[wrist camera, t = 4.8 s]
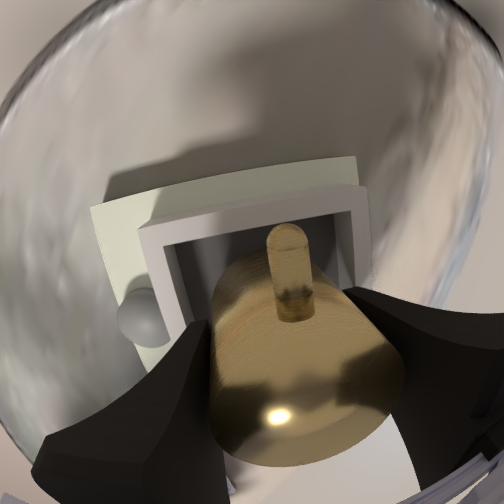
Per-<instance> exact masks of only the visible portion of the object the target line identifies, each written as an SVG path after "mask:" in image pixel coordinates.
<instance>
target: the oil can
mask: <svg viewBox="0 0 504 504" xmlns="http://www.w3.org/2000/svg"><path fill="white" fill-rule="evenodd" d="M266 247H267V248H266V249H261V250H257V251H253V252H251V253H248V254H246V255H244V256H243V257H241V258H239V259H238V260H236V261H235V262H234V263H232V264H231V265H230V266H229V267H228V268H227V269H226V270H225V271H224V273H223V274H222V275H221V277H220V279H219V280H218V282H217V284H216V287H215V289H214V293H213V297H212V311H211V340H210V388H209V422H210V430H211V432H212V435H213V437H214V439H215V440H216V442H217V444H218V445H219V446H220V447H221V448H222V449H223V450H225V451H226V452H227V453H228V454H230V455H232V456H233V457H235V458H237V459H240V460H242V461H245V462H248V463H251V464H255V465H261V466H268V467H290V466H299V465H305V464H309V463H314V462H317V461H320V460H324V459H327V458H329V457H332V456H334V455H337V454H339V453H341V452H343V451H345V450H347V449H349V448H351V447H352V446H354V445H356V444H357V443H359V442H360V441H362V440H363V439H365V438H366V437H367V436H368V435H370V434H371V433H372V432H373V431H374V430H376V429H377V428H378V427H379V426H380V425H381V424H382V423H383V421H384V420H385V419H386V418H387V417H388V416H389V414H390V413H391V412H392V410H393V409H394V407H395V405H396V404H397V402H398V400H399V398H400V395H401V393H402V390H403V386H404V381H405V367H404V363H403V360H402V358H401V355H400V354H399V352H398V351H397V350H396V349H395V347H394V346H393V345H392V344H391V343H390V342H389V341H388V340H387V339H386V337H385V336H384V335H383V334H382V333H381V332H380V331H379V330H378V329H377V328H376V327H375V326H374V325H373V323H372V322H371V321H370V320H369V319H368V318H367V317H366V316H365V315H364V314H363V313H362V312H361V311H360V310H359V309H358V308H357V307H356V305H355V304H354V303H353V302H352V301H351V300H350V299H349V298H348V297H347V296H346V295H345V294H344V293H343V292H342V291H341V290H340V289H339V288H338V287H337V286H336V285H335V284H334V283H333V282H332V281H331V280H330V279H329V278H328V277H327V275H326V274H325V273H324V272H323V271H322V270H321V269H320V268H319V267H318V266H317V265H316V264H315V263H314V262H313V261H311V260H310V256H309V247H308V240H307V237H306V234H305V233H304V231H303V230H302V229H301V228H300V227H298V226H296V225H294V224H290V223H284V224H280V225H278V226H276V227H275V228H273V229H272V230H271V232H270V233H269V235H268V237H267V242H266Z"/></svg>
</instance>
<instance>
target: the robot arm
mask: <svg viewBox="0 0 504 504" xmlns="http://www.w3.org/2000/svg"><path fill="white" fill-rule="evenodd" d="M342 292H343V293H344V294H345V295H346V296H347V297H348V298H349V299H350V300H351V301H352V302H353V303H354V304H355V305H356V307H357V308H358V309H359V310H360V311H361V312H362V313H363V314H364V315H365V316H366V317H367V318H368V319H369V320H370V321H371V322H372V323H373V325H374V326H375V327H376V328H377V329H378V330H379V331H380V332H381V333H382V334H383V335H384V336H385V337H386V339H387V340H388V341H389V342H390V343H391V344H392V345H393V346H394V347H395V349H396V350H397V351H398V352H399V354H400V355H401V358H402V360H403V363H404V367H405V381H404V386H403V390H402V393H401V395H400V398H399V400H398V402H397V404H396V405H395V407H394V409H393V410H392V412H391V415H392V417H393V419H394V421H395V423H396V425H397V427H398V429H399V432H400V434H401V436H402V438H403V441H404V443H405V445H406V448H407V450H408V453H409V455H410V458H411V461H412V464H413V467H414V470H415V473H416V476H417V479H418V482H419V486H420V490H421V492H419V493H417V494H415V495H413V496H411V497H410V498H407V499H406V500H403V501H401V502H400V503H397V504H445V503H446V502H448V501H450V500H451V499H453V498H454V497H456V496H457V495H459V494H460V493H461V492H463V491H464V490H466V489H467V488H468V487H470V486H471V485H473V484H474V483H475V482H477V481H478V480H479V479H480V478H482V477H483V476H484V475H486V474H487V473H488V472H489V474H488V476H487V477H486V478H484V479H483V480H482V481H481V482H480V483H478V484H477V485H476V486H475V487H474V488H473V489H472V490H471V491H470V492H469V493H468V494H467V495H466V496H465V497H464V498H463V499H462V500H461V501H460V502H459V503H457V504H504V313H493V314H478V313H463V312H454V311H447V310H441V309H435V308H431V307H426V306H422V305H419V304H415V303H411V302H408V301H404V300H401V299H398V298H395V297H392V296H388V295H385V294H382V293H379V292H376V291H373V290H370V289H367V288H363V287H358V286H355V287H352V288H348V289H344V290H342ZM210 340H211V329H210V325H209V322H208V319H205V320H199V321H193V322H190V324H189V325H188V326H187V327H186V329H185V330H184V331H183V333H182V334H181V335H180V337H179V338H178V339H177V341H176V342H175V343H174V344H173V346H172V347H171V348H170V349H169V351H168V352H167V353H166V354H165V355H164V357H163V358H162V359H161V360H160V361H159V362H158V363H157V364H156V365H155V367H154V368H153V369H152V370H151V371H150V372H149V373H148V374H147V375H146V376H145V377H144V378H143V379H142V380H140V381H139V382H138V383H137V384H136V385H135V386H134V387H133V388H131V389H130V390H129V391H128V392H126V393H125V394H124V395H122V396H121V397H119V398H118V399H117V400H115V401H114V402H113V403H111V404H110V405H108V406H107V407H105V408H104V409H102V410H100V411H99V412H97V413H95V414H94V415H92V416H90V417H88V418H86V419H85V420H83V421H81V422H79V423H77V424H74V425H72V426H70V427H67V428H65V429H63V430H60V431H58V432H55V433H53V434H50V435H47V436H46V437H45V439H44V441H43V444H42V446H41V448H40V450H39V453H38V455H37V457H36V460H35V462H34V464H33V467H32V469H31V475H32V477H33V479H34V481H35V482H36V483H37V484H38V486H39V487H40V488H41V489H43V490H44V491H45V492H46V493H47V494H49V495H50V496H51V497H52V498H54V499H55V500H56V501H58V502H59V503H60V504H230V498H229V495H230V494H235V493H236V491H235V488H234V487H233V485H232V484H231V482H230V480H229V479H228V477H227V475H226V472H225V464H224V455H223V449H222V448H221V447H220V446H219V445H218V444H217V442H216V440H215V439H214V437H213V435H212V432H211V430H210V422H209V388H210ZM0 504H28V503H26V502H24V501H22V500H20V499H18V498H16V497H14V496H12V495H10V494H8V493H3V496H2V499H1V501H0Z"/></svg>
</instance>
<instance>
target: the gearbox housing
mask: <svg viewBox="0 0 504 504" xmlns="http://www.w3.org/2000/svg"><path fill="white" fill-rule="evenodd" d="M90 211H91V216H92V220H93V224H94V228H95V232H96V235H97V239H98V243H99V246H100V250H101V253H102V257H103V260H104V263H105V266H106V270H107V273H108V276H109V279H110V282H111V285H112V288H113V291H114V293H115V296H116V299H117V302H118V305H119V309H118V312H117V321H118V325H119V327H120V330H121V331H122V333H123V334H124V335H125V336H126V337H127V338H128V339H129V340H130V341H131V342H133V343H134V344H135V347H136V349H137V351H138V354H139V356H140V358H141V360H142V362H143V364H144V367H145V369H146V371H147V373H149V372H150V371H151V370H152V369H153V368H154V367H155V365H156V364H157V363H158V362H159V361H160V360H161V359H162V358H163V357H164V355H165V354H166V353H167V352H168V351H169V349H170V348H171V347H172V346H173V344H174V343H175V342H176V341H177V339H178V338H179V337H180V335H181V334H182V333H183V331H184V330H185V329H186V327H187V326H188V325H189V324H190V322H193V321H199V320H205V319H208V322H209V325H210V329H211V311H212V297H213V293H214V289H215V287H216V284H217V282H218V280H219V279H220V277H221V275H222V274H223V273H224V271H225V270H226V269H227V268H228V267H229V266H230V265H231V264H232V263H234V262H235V261H236V260H238V259H239V258H241V257H243V256H244V255H246V254H248V253H251V252H253V251H257V250H261V249H266V248H267V247H266V242H267V237H268V235H269V233H270V232H271V230H272V229H273V228H275V227H276V226H278V225H280V224H284V223H290V224H294V225H296V226H298V227H300V228H301V229H302V230H303V231H304V233H305V234H306V237H307V240H308V247H309V256H310V260H311V261H313V262H314V263H315V264H316V265H317V266H318V267H319V268H320V269H321V270H322V271H323V272H324V273H325V274H326V275H327V277H328V278H329V279H330V280H331V281H332V282H333V283H334V284H335V285H336V286H337V287H338V288H339V289H340V290H341V291H342V290H344V289H348V288H352V287H355V286H358V287H363V288H367V289H370V290H372V253H371V231H370V216H369V204H368V193H367V187H365V186H359V178H358V170H357V163H356V156H344V157H334V158H325V159H316V160H308V161H300V162H293V163H286V164H279V165H272V166H266V167H260V168H254V169H248V170H242V171H236V172H231V173H226V174H220V175H215V176H210V177H205V178H201V179H196V180H191V181H187V182H182V183H178V184H173V185H169V186H165V187H161V188H157V189H153V190H149V191H145V192H141V193H137V194H133V195H130V196H126V197H122V198H119V199H115V200H112V201H108V202H105V203H101V204H98V205H95V206H92V207H90Z"/></svg>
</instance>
